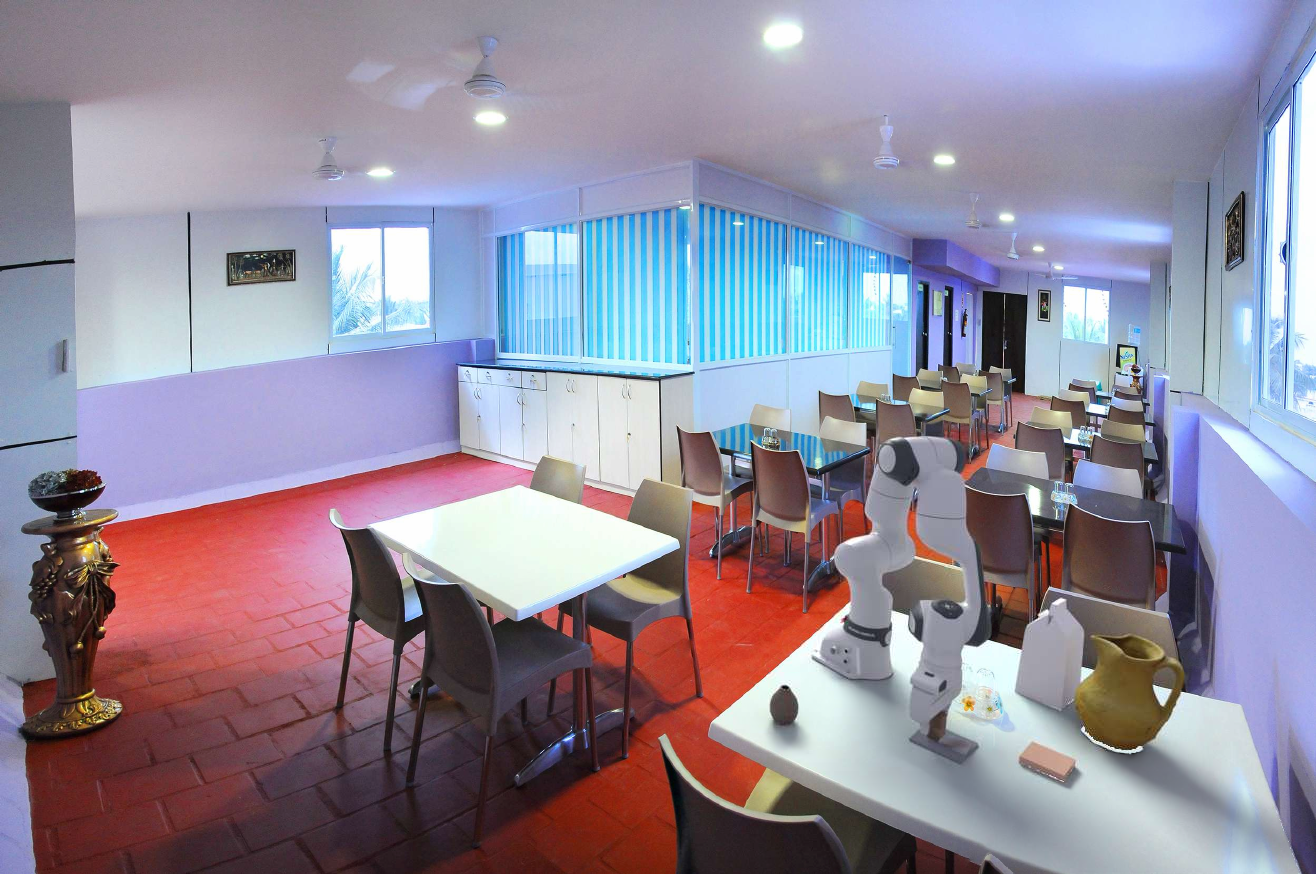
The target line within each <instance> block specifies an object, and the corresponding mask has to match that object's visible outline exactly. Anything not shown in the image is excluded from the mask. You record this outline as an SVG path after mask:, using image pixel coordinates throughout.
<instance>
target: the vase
mask: <svg viewBox="0 0 1316 874" xmlns="http://www.w3.org/2000/svg"><path fill="white" fill-rule="evenodd" d="M799 708H800V707H799V701H798V698H797V696H796V695H795V694H794V692H793V691H792V688H791V687H790V685H787V684H781V685H780V687H779V688H778V689H777V690H776V691H775V692H774V693H773V694H772V696H771V698H770V701H769V712H770V715H771V718H772V719H773V720H774V722H776V723H777V724H779V725H782V726H786V725H787V726H788V725H790V724H792V723H794V722H795V720H796V719H797V717H798V714H799Z"/></svg>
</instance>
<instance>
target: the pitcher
mask: <svg viewBox="0 0 1316 874" xmlns="http://www.w3.org/2000/svg"><path fill="white" fill-rule="evenodd" d="M1089 639H1090V640H1091V642H1092V643H1093V644H1094V646H1095V648H1096V651H1097V663H1096V666H1095V668H1094V670H1093V671H1092V672H1091V673H1090V675H1088V676H1087V677H1086V678H1084V679H1083V680H1082V681H1081V682H1080V684H1079V686H1078V687H1077V689H1076V692H1075V698H1074V701H1073V702H1074V708H1075V709H1076V712H1075V713H1076V715H1077V716H1078V717H1079V718H1080V721H1081V722H1082V723H1083V725H1084V727H1085V732H1087V733H1089V735H1090V736H1091V737H1093V739H1094V740H1096V741H1099V742H1102V743H1103V744H1106V745H1108V746H1110V747H1114V748H1115V749H1121V750H1132V749H1136V748H1137V747H1138V746H1143V747H1144V745H1147V743H1149V742H1151V741H1153V740H1155V739H1156V738H1157V735H1158V734H1159V732H1161V730H1162V728H1163V727H1164V726H1165V724H1166V723H1167V722H1168V721H1169V720H1170V718H1171V717H1172V713H1173V711H1174V708H1175V707H1176V706H1177V701H1178V700H1179V698H1180V696H1181V695H1182V689H1183V686H1184V682H1185V671H1184V667H1183V665H1182V664H1181V662H1180V661H1178V660H1177V659H1175V658H1174V657H1169V656H1166V653H1165V650H1164V649H1163V648H1162V647H1161V646H1159V645H1157V644H1156V643H1155V642H1153V641H1150V640H1148V639H1147V638H1144V637H1141V636H1138V635H1136V634H1133V633H1129V634H1126V635H1123V636H1111V635H1110V636H1109V635H1103V634H1101V635H1100V634H1095V635H1091V636H1090V638H1089ZM1167 667H1168V668H1169V669H1171V670H1172V671H1173V673H1174V675H1175V680H1174V683H1173V686H1172V689H1171V691H1170V694H1169V695H1168V697H1167V699H1166V701H1165V703H1164V705H1162V704H1161V702H1160V700H1159V699H1158V697H1157V695H1156V692H1155V690H1154V675H1155V673H1156V672H1157V671H1159V670H1162V669H1165V668H1167Z"/></svg>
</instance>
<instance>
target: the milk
mask: <svg viewBox="0 0 1316 874" xmlns="http://www.w3.org/2000/svg"><path fill="white" fill-rule="evenodd" d="M1037 616H1038V618H1037V619H1035V620H1033V621H1031V622H1030V623H1028V624H1027V626H1026V627H1025V630H1024V634H1023V639H1022V640H1023V641H1022V647H1021V653H1020V658H1019V663H1018V669H1017V674H1016V682H1015V688H1014V693H1017V694H1019V695H1021V696H1024V697H1026V698H1028V699H1030V700H1033V701H1036V702H1038V701H1039V703H1040V702H1041V704H1043V703H1044V704H1043V705H1045V704H1047V705H1050V706H1052V707H1055V708H1057V709H1060V710H1062V709H1063V708H1064V707H1065V706H1066V705H1067V704H1068V703H1069V702H1071V701H1072V700H1073V699H1074V698H1075V692H1076V689H1077V687H1078V686H1079V684H1080V683H1081V682H1082V681H1081V679H1082V666H1083V656H1084V655H1083V653H1084V640H1085V631H1084V628H1083V626H1082V625H1081V623H1079V621H1078V620H1077V619H1076V617H1074V616H1073V614H1072V613H1071V612H1070V611H1069V610H1068V609H1067V599H1065V598H1062V597H1060V598H1058V599H1057V600H1055V601H1053V602H1052V603H1051V604H1050V607H1049V610H1048V609H1045V610H1043V611H1042V612H1040V613H1038V614H1037ZM1071 703H1072V702H1071ZM1047 705H1046V706H1047ZM1050 706H1049V707H1050ZM1052 707H1051V708H1052ZM1065 708H1066V707H1065ZM1065 708H1064V709H1065ZM1057 709H1056V710H1057ZM1064 709H1063V710H1064ZM1063 710H1062V711H1063Z"/></svg>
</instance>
